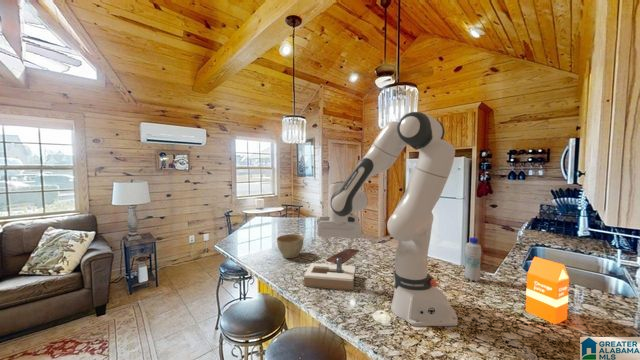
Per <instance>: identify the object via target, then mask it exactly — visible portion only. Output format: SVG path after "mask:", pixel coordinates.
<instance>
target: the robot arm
mask: <svg viewBox="0 0 640 360" xmlns="http://www.w3.org/2000/svg"><path fill="white" fill-rule="evenodd" d="M444 137H445V127H444V125H443V123H442V122H441V121H440V120H438V119H436V118H434V116H432V115H430V114H427V113H423V112H421V111H411V112H408V113H406V114H405V115H403V116H402V117H401V118H400V119H399V120H398V121H394V120H393V121H392V120H391V121H389V122H388V123H387V124H386V125H384V126H383V128H382V129H381V130H380V132H379V133H378V135H377V136H376V137H375V139H374V141H373V142H372V143H371V146H370V148H369V149H368V150H367V152H366V153H365V155H364V156H363V157H362V158H361V160H360V161H359V162H358V164H357V165H356V166H355V167H354V168H353V170H352V171H351V173H350V174H349V176H348V177H347V179H346V180H345V181H337V182H332V183H330V185H329V190H328V204H329V210H328V216H319V217H318V218H317V219H316V225H317V231H316V233H317V235H316V236H318V237H319V238H324V240H325V242H326V244H327V247H329V248H330V247H332V242H331V241H330V240H329V238H339V239H340V238H341V239H347V238H348V239H349V238H350V242H347V243H348V244H347V247H348V248H352V246H353V245H352V244H353V242H354V239H361V237H362V226H361V223H360V221H359V215H358V214H355V213H356V212H360V211H362V210H364V209H366V208H367V206H368V202H369V199H368V196H367V193H366V192H365V191H364V190H362V187H363V185H364V184H365V183H366V182H367V181H368V180H369V179H370V178H372V177H374V176H376V175H378V174H380V173H383V172H385V171H387V170H389V169H390V168H391V167H392V166H393V165H394V163H395V162H396V161H397V159H398V158H399V156H400V155H401V153H402V152H403V150H404V149H405V148H406V147H407V146H410V147H411V148H413V149H414V150H418V158H417V160H416V164H415V167H414V169H413V171H412V174H411V176H410V179H409V182H408V185H407V187H406V189H405V191H404V193H403V194H402V196H401V197H400V200H399V202H398V203H397V205H396V207H395V209H394V210H393V213H392V214H391V215H390V217H389V218H388V220H387V222H386V223H387V224H386V228H387V232H388V233H389V235H390V237H392V238H393V239H394V240H396V241H398V244H397V246H396V248H395V266H394V267H395V270H394V273H393V286H394V289H393V298H392V301H391V304H390V310H391V312H392V313H393V314H395V316H397V317H399V318H400V319H402V320H404V321H406V322H408V324H410V325H411V326H414V327H438V326H439V327H443V326H444V327H449V326H450V327H451V326H452V327H455V326H457V325H458V315H457V312H456V311H455V309H454V308H453V306H451V305H450V302H449V299H448V297H447V295H446V294H445V293H444V292H443V291H442V290H441V289H439V288H438V287H437V285H438V284H437V281H436V280H435V279H434V278H433V276H432V275H431V273H428V259H429V257H428V254H429V247H430V241H431V236H432V227H433V224H434V223H433V222H434V213H433V212H432V211H433V209H434V208H435V206H436V205H437V203H438V202H439V200H440V198H441V195H442V193H443V191H444V188H445V187H446V183H447V181H448V178H449V177H450V173H451V171H452V168H453V164H454V162H455V161H454V160H455V155H456V148H455V147H454V146H453V144H452V143H451V142H449V141H446V140H444Z"/></svg>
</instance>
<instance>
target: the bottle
mask: <svg viewBox="0 0 640 360" xmlns="http://www.w3.org/2000/svg"><path fill="white" fill-rule="evenodd" d="M464 254H465V264H464V265H465V267H464V276H465V277H464V278H465V279H466V280H469V281H470V282H473V281H474V282H475V283H477V282H480V280H481V259H482V258H481V257H482V246H481V244H479V240H478V238H477V237H469V242H466V243H465V248H464Z"/></svg>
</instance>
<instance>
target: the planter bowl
mask: <svg viewBox="0 0 640 360" xmlns="http://www.w3.org/2000/svg"><path fill="white" fill-rule="evenodd" d="M304 239H305V238H304V236H303V235H301V234H283V235H280V236H278V237H276V243H277V248H278V250H279V252H280V253H281V255H282V257H283V258H286V259H294V258H298V256H299V254H300V253H301V251H302V248H303V245H304Z"/></svg>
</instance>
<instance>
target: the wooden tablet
mask: <svg viewBox="0 0 640 360" xmlns="http://www.w3.org/2000/svg"><path fill="white" fill-rule="evenodd" d="M358 252H360V250H359V249H356V248H355V249H354V248H346V249H344V250H341V251H340V252H337V253H335V254H333V255H332V256H330V257H327V259H325V261H326V262H329V263H333V264H334V265H337V258H342V264H343V263H344V262H347V261H348V260H349V259H350V258H352V257H353V256H355V255H356V254H357V253H358Z"/></svg>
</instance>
